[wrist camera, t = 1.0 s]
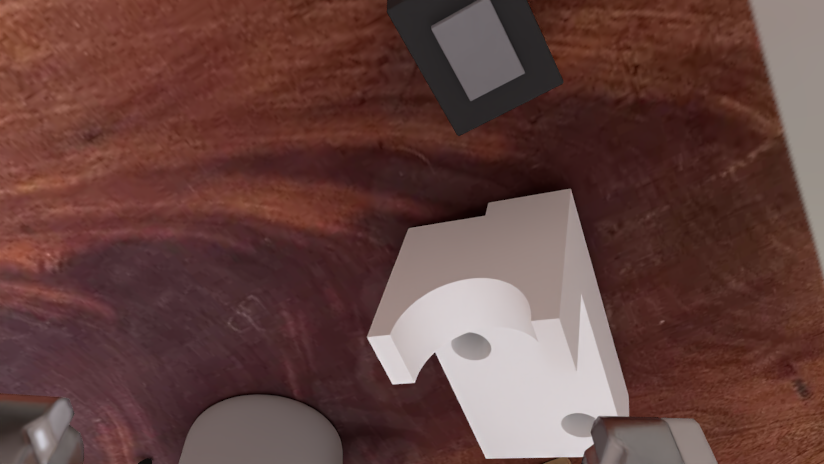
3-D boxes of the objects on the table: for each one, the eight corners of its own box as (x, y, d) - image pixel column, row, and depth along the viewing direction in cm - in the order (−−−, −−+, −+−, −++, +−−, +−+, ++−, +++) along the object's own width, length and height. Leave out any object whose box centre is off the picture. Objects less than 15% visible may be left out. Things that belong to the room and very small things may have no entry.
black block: (488, -76, 23) (502, -54, 20) (546, 49, 26) (566, 87, 23) (387, -17, 24) (385, 13, 21) (451, 98, 27) (458, 141, 24)
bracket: (413, 215, 31) (366, 337, 25) (570, 188, 28) (559, 318, 22) (495, 403, 37) (473, 532, 32) (628, 396, 35) (631, 537, 29)
